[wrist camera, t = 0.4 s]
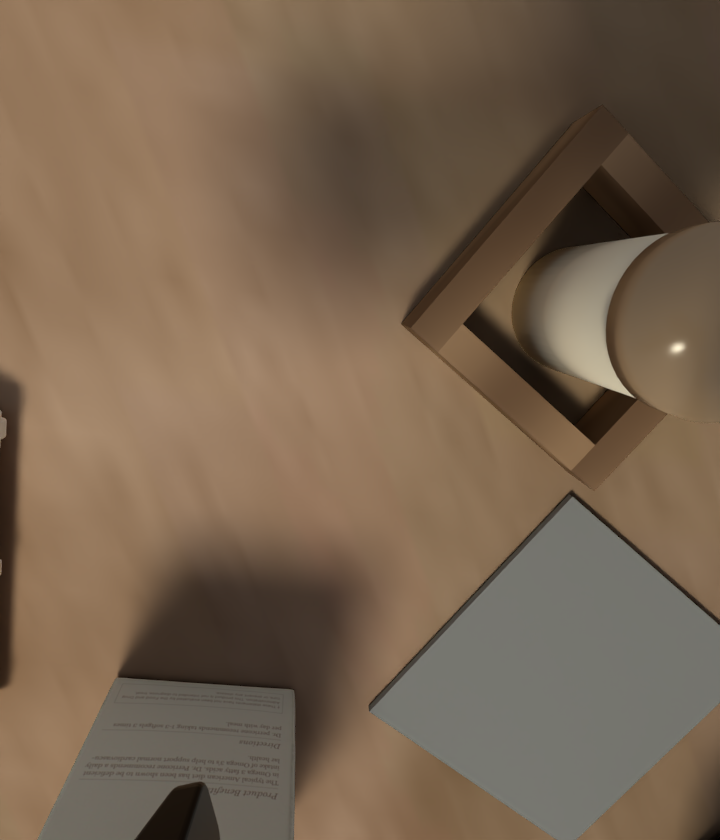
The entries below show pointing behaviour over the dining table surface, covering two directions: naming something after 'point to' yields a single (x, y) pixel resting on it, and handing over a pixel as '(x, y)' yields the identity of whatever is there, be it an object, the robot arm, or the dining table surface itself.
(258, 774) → the supplement box
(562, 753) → the mat
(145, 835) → the robot arm
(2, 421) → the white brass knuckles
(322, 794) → the dining table surface
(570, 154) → the pocket frame
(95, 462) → the dining table surface
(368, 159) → the dining table surface
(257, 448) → the dining table surface
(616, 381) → the jar
